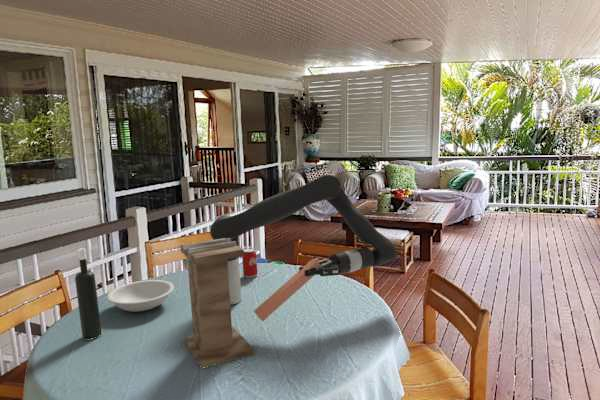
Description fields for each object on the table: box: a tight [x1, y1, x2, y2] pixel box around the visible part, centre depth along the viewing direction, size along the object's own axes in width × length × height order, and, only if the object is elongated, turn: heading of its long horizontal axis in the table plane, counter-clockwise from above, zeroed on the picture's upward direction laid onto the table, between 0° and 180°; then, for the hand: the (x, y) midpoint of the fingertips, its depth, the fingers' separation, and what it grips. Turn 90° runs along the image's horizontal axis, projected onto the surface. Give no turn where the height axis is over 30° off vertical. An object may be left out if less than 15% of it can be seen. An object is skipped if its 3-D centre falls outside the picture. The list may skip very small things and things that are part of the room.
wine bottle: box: [74, 247, 102, 340], centre depth 149 cm, size 6×6×30 cm
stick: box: [253, 258, 320, 322], centre depth 150 cm, size 3×26×3 cm
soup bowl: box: [106, 279, 175, 312], centre depth 174 cm, size 24×24×7 cm
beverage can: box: [241, 248, 258, 279], centre depth 204 cm, size 6×6×12 cm
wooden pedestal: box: [179, 238, 255, 369], centre depth 138 cm, size 18×16×33 cm
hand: (302, 271), depth 151 cm, fingers closed on stick, 3 cm apart
